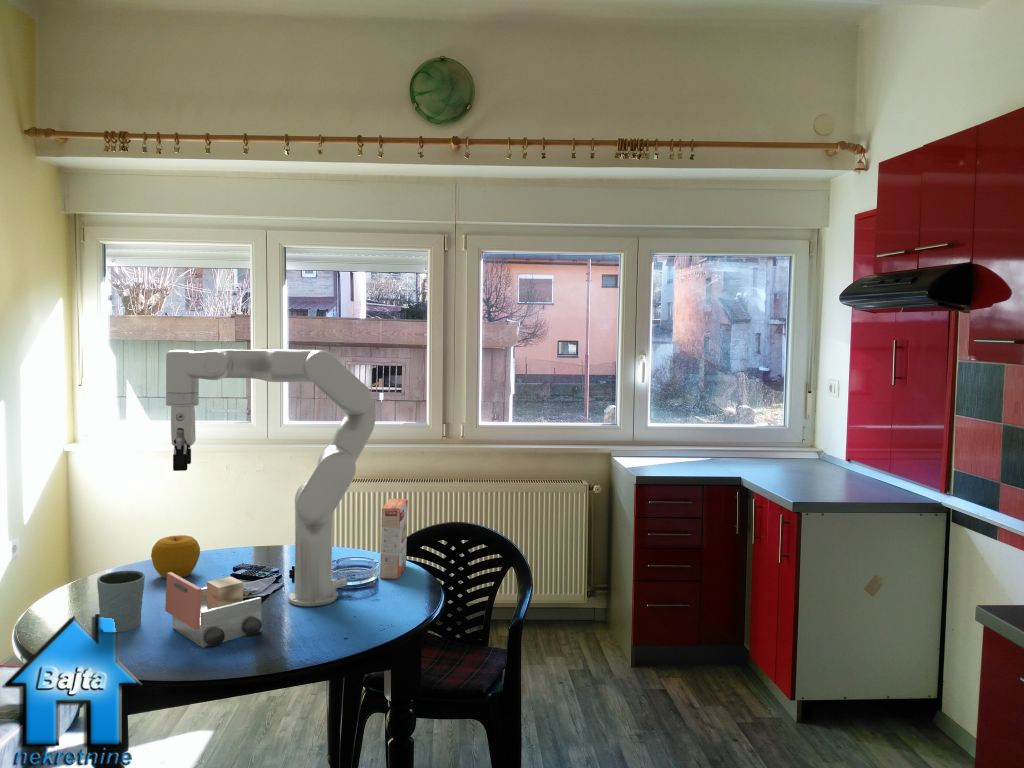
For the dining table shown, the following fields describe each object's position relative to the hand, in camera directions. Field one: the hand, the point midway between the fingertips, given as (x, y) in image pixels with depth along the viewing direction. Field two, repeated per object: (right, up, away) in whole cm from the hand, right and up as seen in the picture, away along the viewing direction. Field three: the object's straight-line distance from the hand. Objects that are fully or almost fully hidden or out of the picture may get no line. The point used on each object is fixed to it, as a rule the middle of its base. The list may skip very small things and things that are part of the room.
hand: (182, 467), depth 191 cm
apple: (-13, -34, +27) cm, 46 cm away
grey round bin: (-10, -37, -11) cm, 40 cm away
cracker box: (+48, -35, +35) cm, 69 cm away
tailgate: (+8, -33, -18) cm, 38 cm away
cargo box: (+15, -32, -10) cm, 37 cm away
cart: (+13, -37, -12) cm, 41 cm away
